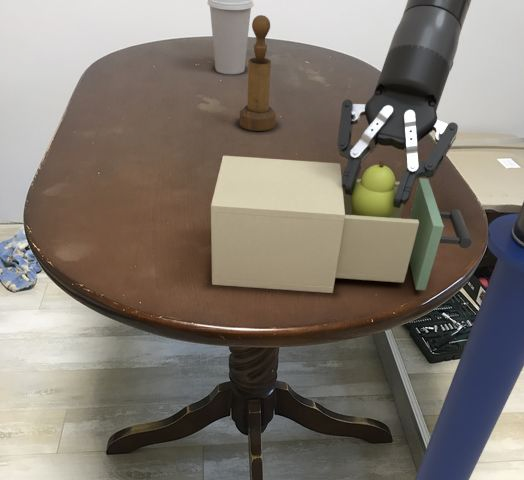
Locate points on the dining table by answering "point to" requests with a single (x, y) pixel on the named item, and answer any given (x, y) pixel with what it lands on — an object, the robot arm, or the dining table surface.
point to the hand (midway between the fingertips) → (372, 198)
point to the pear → (375, 193)
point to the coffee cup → (230, 34)
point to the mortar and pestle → (258, 83)
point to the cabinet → (277, 224)
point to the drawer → (397, 240)
